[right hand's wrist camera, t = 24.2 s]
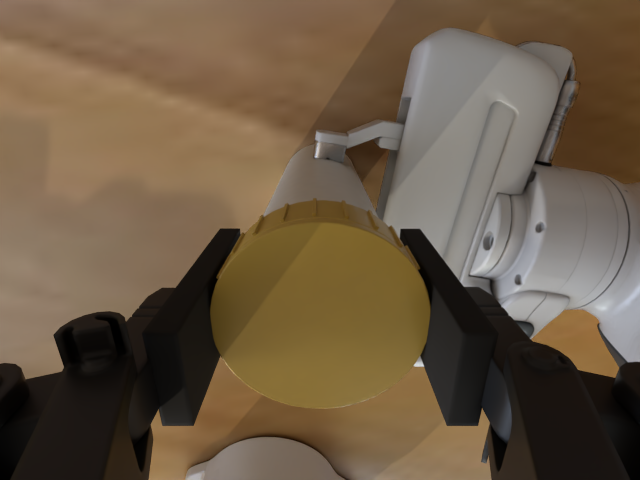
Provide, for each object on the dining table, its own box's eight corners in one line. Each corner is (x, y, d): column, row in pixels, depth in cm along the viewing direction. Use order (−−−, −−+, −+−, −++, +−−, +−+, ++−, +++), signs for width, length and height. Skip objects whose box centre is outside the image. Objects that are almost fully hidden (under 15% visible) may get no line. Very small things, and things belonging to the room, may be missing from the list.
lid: (188, 299, 12) (163, 337, 10) (306, 152, 10) (303, 165, 8) (330, 391, 14) (331, 440, 12) (455, 278, 12) (481, 314, 10)
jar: (283, 211, 29) (231, 372, 12) (285, 140, 27) (228, 215, 10) (352, 216, 29) (395, 382, 12) (359, 146, 27) (425, 229, 10)
